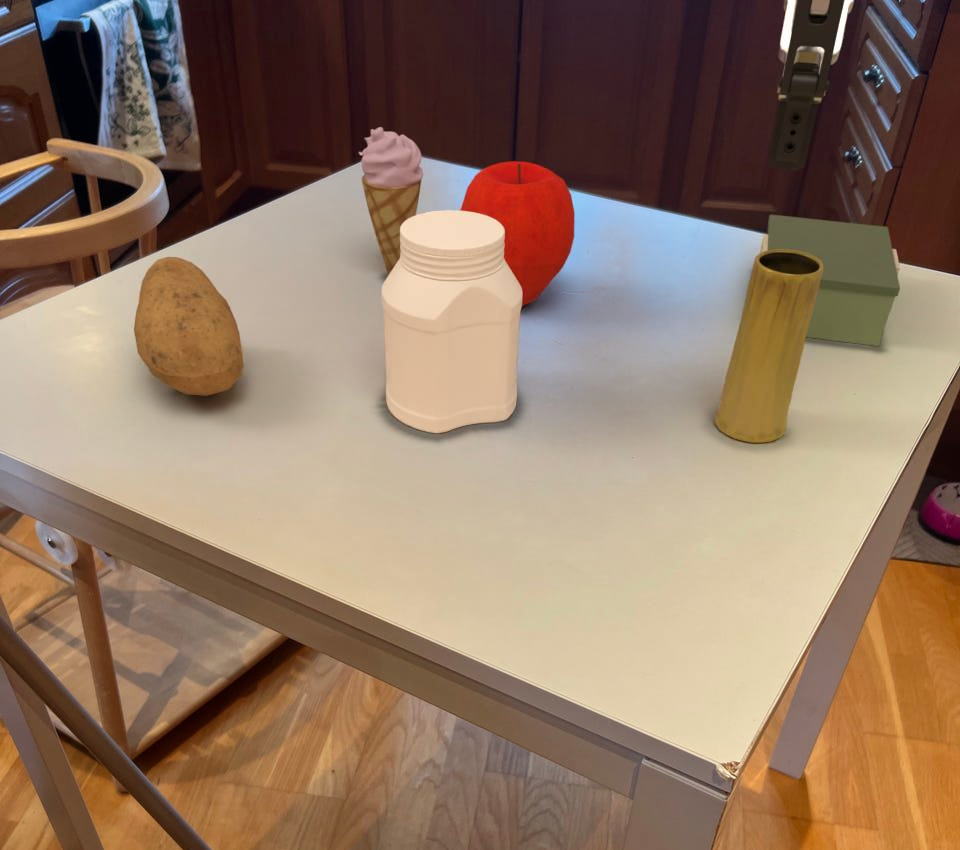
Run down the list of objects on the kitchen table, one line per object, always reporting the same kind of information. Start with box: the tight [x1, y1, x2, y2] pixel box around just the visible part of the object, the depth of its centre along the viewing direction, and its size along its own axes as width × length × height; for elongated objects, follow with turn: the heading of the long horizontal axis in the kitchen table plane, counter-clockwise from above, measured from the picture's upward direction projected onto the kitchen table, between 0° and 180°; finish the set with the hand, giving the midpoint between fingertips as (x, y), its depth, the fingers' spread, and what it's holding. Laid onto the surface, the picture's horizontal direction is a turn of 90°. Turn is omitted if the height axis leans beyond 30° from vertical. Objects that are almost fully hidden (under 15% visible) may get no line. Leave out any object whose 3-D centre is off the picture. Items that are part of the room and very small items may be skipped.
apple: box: [459, 160, 575, 307], centre depth 97 cm, size 12×12×13 cm
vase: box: [714, 249, 823, 444], centre depth 79 cm, size 6×6×14 cm
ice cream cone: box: [358, 126, 424, 276], centre depth 101 cm, size 7×6×15 cm
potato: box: [133, 256, 245, 397], centre depth 84 cm, size 9×16×9 cm, turn 17°
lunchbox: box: [758, 214, 901, 347], centre depth 100 cm, size 13×16×6 cm
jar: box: [380, 209, 523, 434], centre depth 81 cm, size 12×10×15 cm
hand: (787, 148), depth 63 cm, fingers open, 8 cm apart
